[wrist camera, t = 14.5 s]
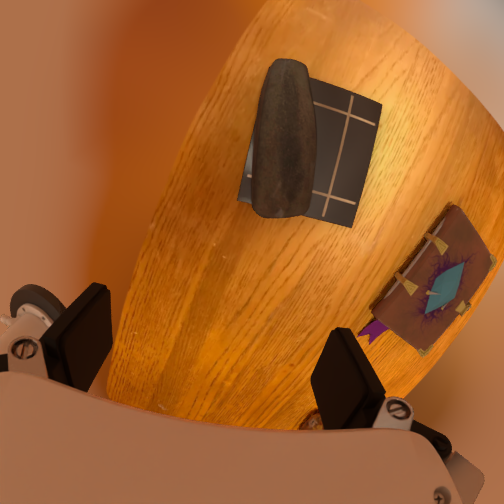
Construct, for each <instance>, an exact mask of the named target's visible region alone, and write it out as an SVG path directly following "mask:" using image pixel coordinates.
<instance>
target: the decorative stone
mask: <svg viewBox="0 0 504 504" xmlns="http://www.w3.org/2000/svg"><path fill="white" fill-rule="evenodd" d="M316 157H317V124H316V114H315V108H314V102H313V96H312V90H311V84H310V78H309V73H308V69H307V66H306V65H305V64H303V63H301V62H299V61H297V60H293V59H283V58H282V59H277V60H275V61H274V62H273V64H272V65H271V67H270V69H269V71H268V73H267V76H266V78H265V81H264V84H263V87H262V91H261V95H260V99H259V104H258V110H257V117H256V125H255V134H254V145H253V159H252V177H251V178H252V181H251V204H252V208H253V210H254V211H255V212H256V213H257V214H258V215H259V216H261V217H263V218H288V217H294V216H300V215H303V214H305V213H306V212H307V211H308V209H309V207H310V202H311V197H312V190H313V184H314V175H315V166H316Z"/></svg>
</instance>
